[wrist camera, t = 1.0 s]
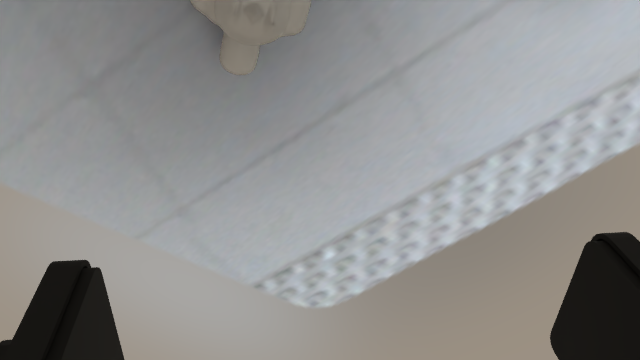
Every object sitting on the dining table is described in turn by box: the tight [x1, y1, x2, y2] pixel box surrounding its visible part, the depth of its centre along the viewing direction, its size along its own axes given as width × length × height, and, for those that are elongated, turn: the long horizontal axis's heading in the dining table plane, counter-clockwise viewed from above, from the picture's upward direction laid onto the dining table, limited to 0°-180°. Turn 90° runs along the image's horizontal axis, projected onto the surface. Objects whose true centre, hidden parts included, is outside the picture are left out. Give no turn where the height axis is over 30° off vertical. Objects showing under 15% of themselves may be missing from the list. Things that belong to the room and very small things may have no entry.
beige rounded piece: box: [190, 0, 311, 75], centre depth 22 cm, size 5×7×8 cm
